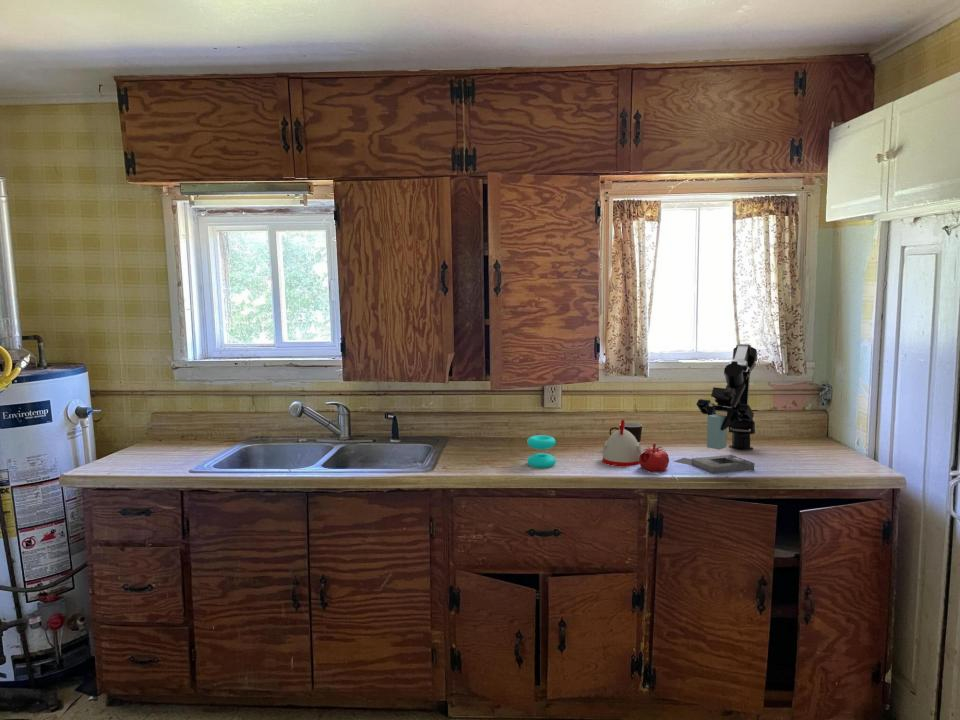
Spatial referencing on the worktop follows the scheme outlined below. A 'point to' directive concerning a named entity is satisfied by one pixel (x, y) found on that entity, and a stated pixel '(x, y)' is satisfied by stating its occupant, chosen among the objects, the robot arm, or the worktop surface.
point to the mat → (684, 461)
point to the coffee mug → (632, 430)
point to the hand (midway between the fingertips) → (714, 428)
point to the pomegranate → (654, 459)
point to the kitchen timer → (622, 448)
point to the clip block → (716, 432)
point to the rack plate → (722, 464)
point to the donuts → (541, 459)
